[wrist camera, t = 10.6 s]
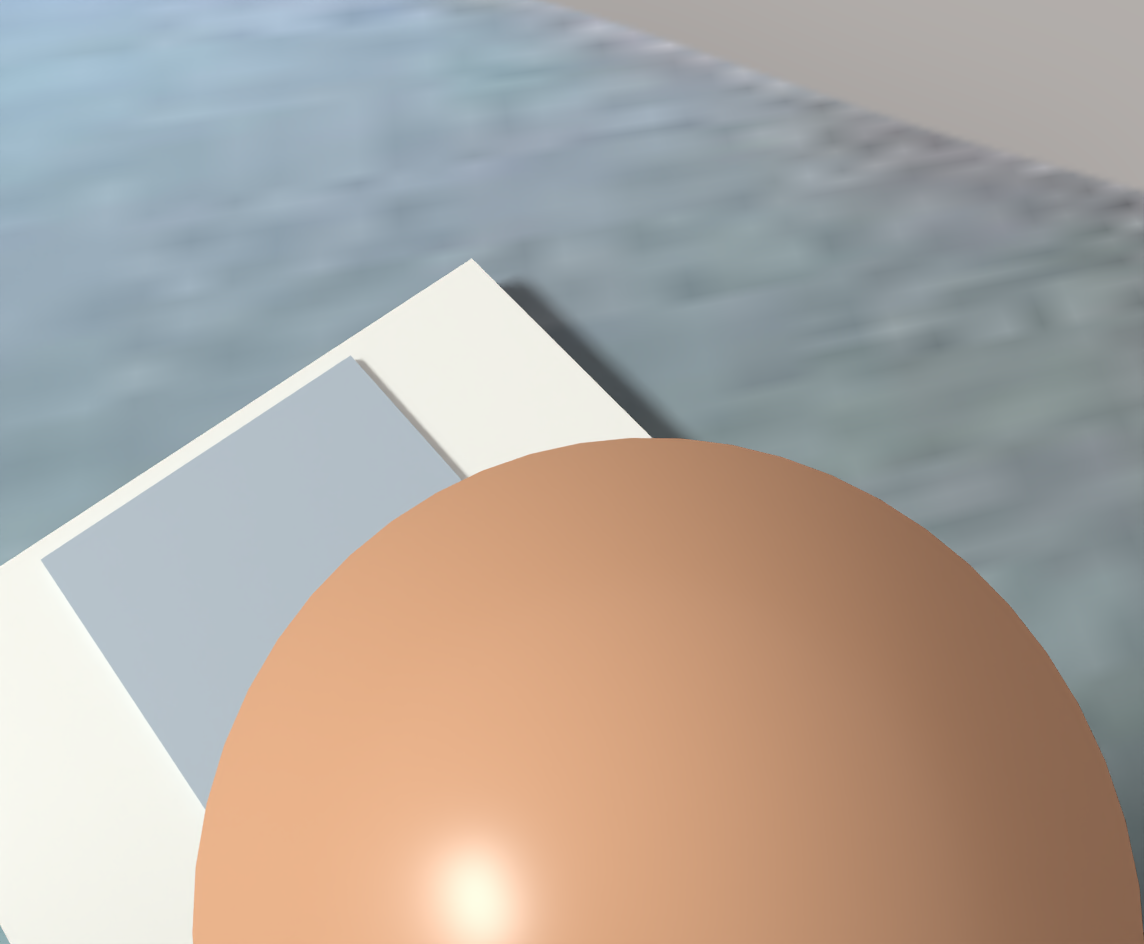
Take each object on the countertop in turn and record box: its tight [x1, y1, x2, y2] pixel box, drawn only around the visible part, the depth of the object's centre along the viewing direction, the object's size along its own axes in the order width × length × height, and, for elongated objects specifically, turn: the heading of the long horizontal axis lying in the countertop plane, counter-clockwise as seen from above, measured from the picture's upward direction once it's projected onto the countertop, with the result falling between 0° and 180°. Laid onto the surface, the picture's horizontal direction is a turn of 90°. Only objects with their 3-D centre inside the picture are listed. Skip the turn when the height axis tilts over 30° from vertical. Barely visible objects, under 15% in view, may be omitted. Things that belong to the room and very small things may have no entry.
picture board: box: [0, 259, 652, 944], centre depth 19 cm, size 14×17×1 cm
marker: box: [192, 438, 1144, 944], centre depth 10 cm, size 4×4×12 cm
